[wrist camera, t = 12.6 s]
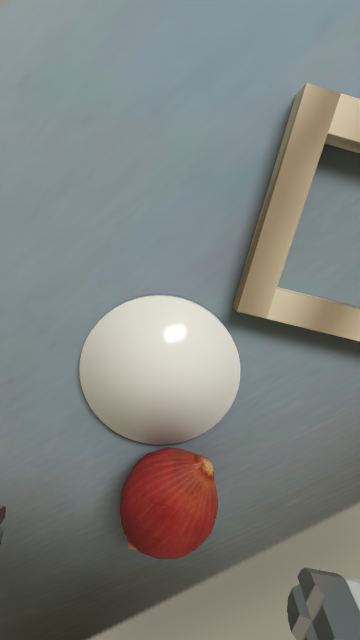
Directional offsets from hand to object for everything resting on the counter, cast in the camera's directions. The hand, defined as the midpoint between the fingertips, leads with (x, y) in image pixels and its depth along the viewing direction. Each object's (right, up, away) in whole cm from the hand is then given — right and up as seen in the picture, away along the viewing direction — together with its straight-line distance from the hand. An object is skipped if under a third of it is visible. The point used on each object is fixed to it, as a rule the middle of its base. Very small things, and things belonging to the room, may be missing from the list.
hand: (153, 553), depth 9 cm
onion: (+2, -2, +11) cm, 11 cm away
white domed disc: (-1, +3, +12) cm, 13 cm away
